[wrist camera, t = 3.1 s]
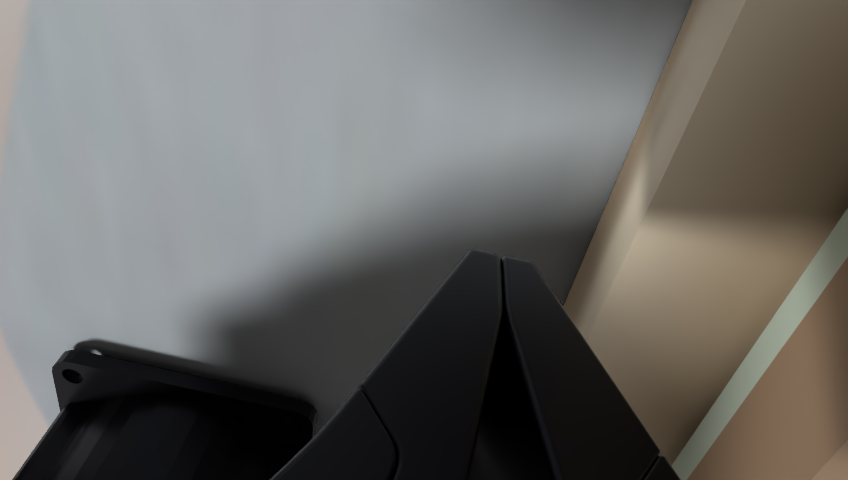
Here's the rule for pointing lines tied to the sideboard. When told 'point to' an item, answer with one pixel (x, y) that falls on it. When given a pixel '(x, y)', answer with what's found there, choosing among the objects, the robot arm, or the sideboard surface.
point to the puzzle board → (717, 204)
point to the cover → (786, 388)
